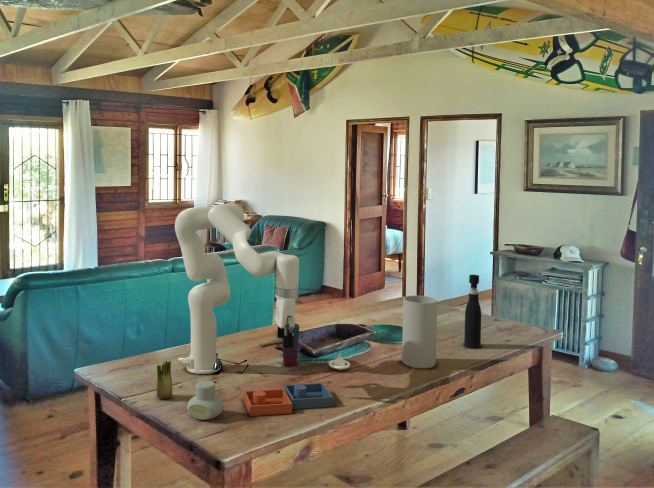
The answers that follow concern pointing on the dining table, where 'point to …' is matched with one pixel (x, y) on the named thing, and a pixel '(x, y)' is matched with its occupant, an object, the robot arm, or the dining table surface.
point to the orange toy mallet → (262, 399)
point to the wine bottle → (473, 316)
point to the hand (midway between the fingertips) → (284, 342)
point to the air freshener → (205, 402)
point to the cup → (291, 349)
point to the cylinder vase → (419, 331)
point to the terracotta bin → (272, 408)
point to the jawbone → (272, 341)
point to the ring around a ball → (339, 363)
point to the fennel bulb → (164, 380)
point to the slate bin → (310, 402)
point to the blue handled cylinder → (303, 392)
